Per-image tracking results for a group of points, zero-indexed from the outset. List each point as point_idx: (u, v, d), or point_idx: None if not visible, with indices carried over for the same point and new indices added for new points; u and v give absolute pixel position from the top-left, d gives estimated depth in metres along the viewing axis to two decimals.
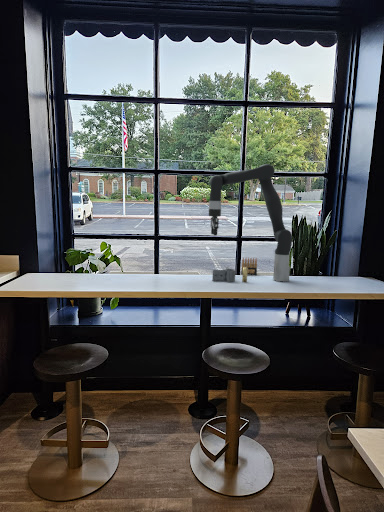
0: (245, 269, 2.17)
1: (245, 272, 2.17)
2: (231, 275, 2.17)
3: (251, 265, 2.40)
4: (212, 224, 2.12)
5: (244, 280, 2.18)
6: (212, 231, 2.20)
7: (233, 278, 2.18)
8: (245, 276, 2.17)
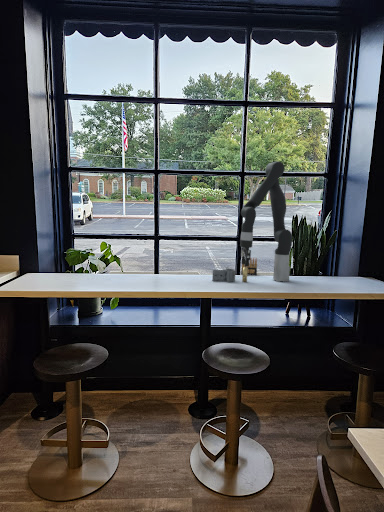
0: (245, 269, 2.17)
1: (245, 272, 2.17)
2: (231, 275, 2.17)
3: (251, 265, 2.40)
4: (244, 255, 2.14)
5: (244, 280, 2.18)
6: (242, 261, 2.21)
7: (233, 278, 2.18)
8: (245, 276, 2.17)
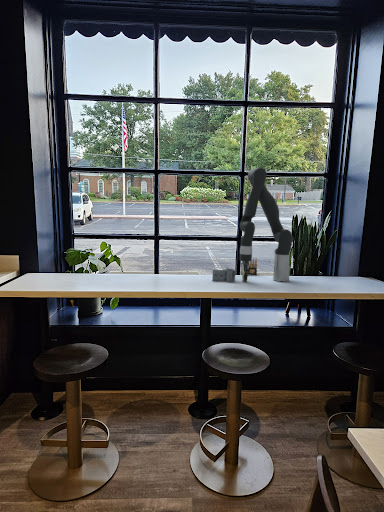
0: None
1: None
2: (231, 275, 2.17)
3: (251, 265, 2.40)
4: (243, 269, 2.16)
5: None
6: None
7: (233, 278, 2.18)
8: None
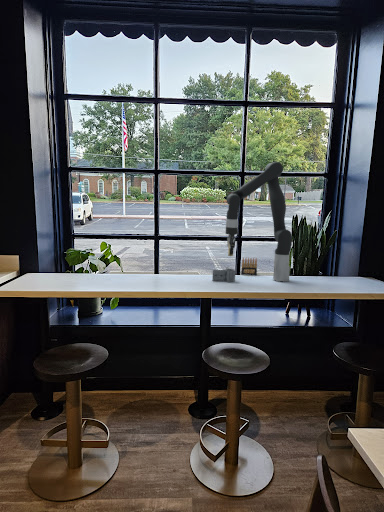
0: None
1: None
2: (231, 275, 2.17)
3: (251, 265, 2.40)
4: (228, 242, 2.16)
5: None
6: None
7: (233, 278, 2.18)
8: None
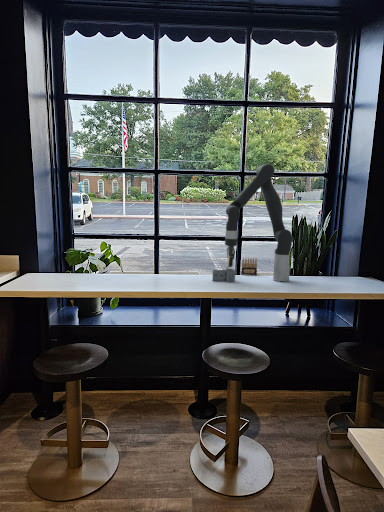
0: None
1: None
2: (231, 275, 2.17)
3: (251, 265, 2.40)
4: (228, 254, 2.17)
5: (229, 265, 2.18)
6: None
7: (233, 278, 2.18)
8: None
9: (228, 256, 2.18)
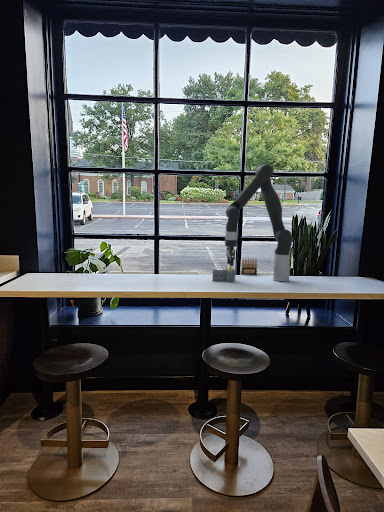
0: (230, 268, 2.19)
1: None
2: (231, 275, 2.17)
3: (251, 265, 2.40)
4: (228, 254, 2.16)
5: None
6: (228, 261, 2.23)
7: (233, 278, 2.18)
8: None
9: None
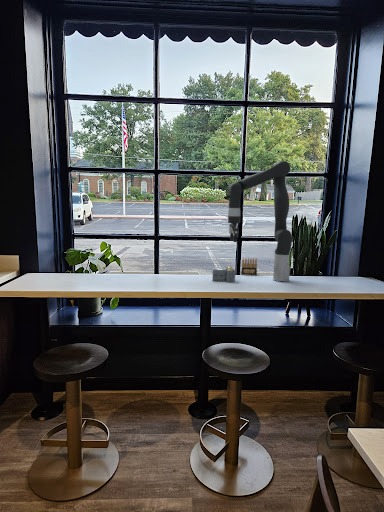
0: (230, 268, 2.19)
1: None
2: (231, 275, 2.17)
3: (251, 265, 2.40)
4: (232, 231, 2.15)
5: None
6: (231, 238, 2.23)
7: (233, 278, 2.18)
8: None
9: None
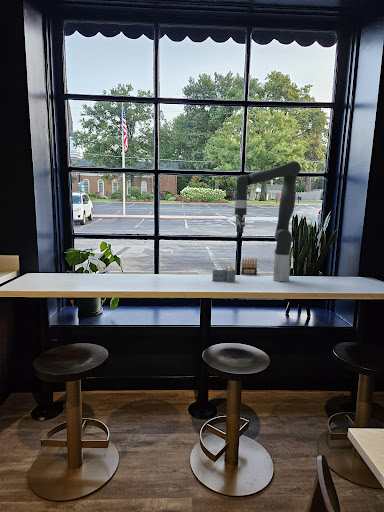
0: (230, 268, 2.19)
1: None
2: (231, 275, 2.17)
3: (251, 265, 2.40)
4: (238, 222, 2.20)
5: None
6: (237, 229, 2.28)
7: (233, 278, 2.18)
8: None
9: None
